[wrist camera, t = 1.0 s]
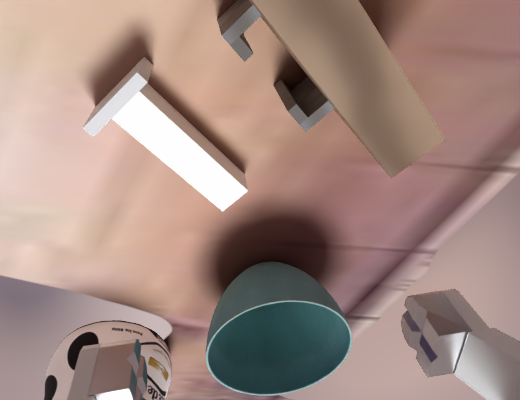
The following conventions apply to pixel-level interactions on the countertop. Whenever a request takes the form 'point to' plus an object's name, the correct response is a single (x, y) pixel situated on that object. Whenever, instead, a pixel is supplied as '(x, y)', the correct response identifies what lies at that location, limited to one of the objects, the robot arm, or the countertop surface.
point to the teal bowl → (275, 332)
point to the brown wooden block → (342, 74)
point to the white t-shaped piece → (168, 136)
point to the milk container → (107, 332)
